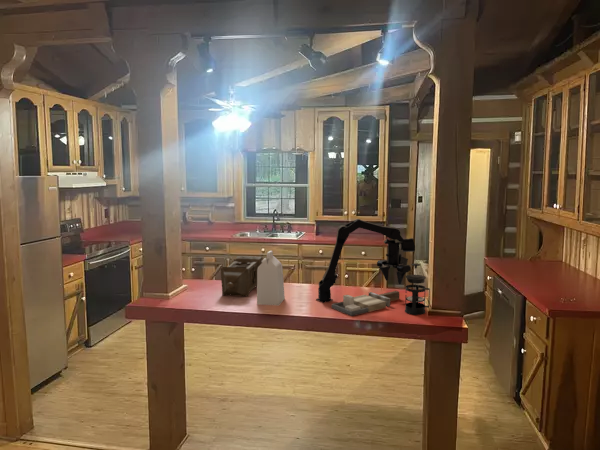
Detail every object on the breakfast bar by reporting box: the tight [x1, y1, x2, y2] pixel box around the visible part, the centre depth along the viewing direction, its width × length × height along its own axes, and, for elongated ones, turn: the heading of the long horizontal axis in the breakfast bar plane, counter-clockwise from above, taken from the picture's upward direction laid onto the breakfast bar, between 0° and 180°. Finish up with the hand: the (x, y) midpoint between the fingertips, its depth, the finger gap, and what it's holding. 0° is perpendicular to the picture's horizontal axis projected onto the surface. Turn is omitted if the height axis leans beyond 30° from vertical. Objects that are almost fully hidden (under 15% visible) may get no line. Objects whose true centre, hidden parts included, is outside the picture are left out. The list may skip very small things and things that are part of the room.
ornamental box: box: [220, 255, 264, 298], centre depth 251 cm, size 35×18×18 cm, turn 167°
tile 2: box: [345, 304, 360, 311], centre depth 214 cm, size 5×5×2 cm
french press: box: [404, 263, 431, 316], centre depth 212 cm, size 12×9×23 cm
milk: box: [256, 250, 286, 306], centre depth 233 cm, size 12×12×26 cm
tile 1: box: [342, 294, 355, 306], centre depth 222 cm, size 5×5×2 cm
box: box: [331, 301, 369, 317], centre depth 218 cm, size 15×10×2 cm
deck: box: [353, 294, 387, 313], centre depth 224 cm, size 15×11×3 cm
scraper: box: [368, 290, 400, 308], centre depth 232 cm, size 14×14×4 cm
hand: (393, 282), depth 232 cm, fingers open, 9 cm apart
